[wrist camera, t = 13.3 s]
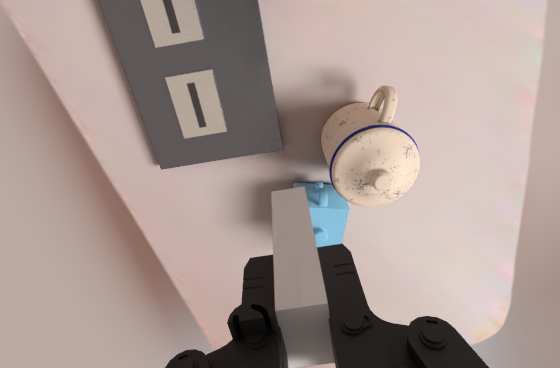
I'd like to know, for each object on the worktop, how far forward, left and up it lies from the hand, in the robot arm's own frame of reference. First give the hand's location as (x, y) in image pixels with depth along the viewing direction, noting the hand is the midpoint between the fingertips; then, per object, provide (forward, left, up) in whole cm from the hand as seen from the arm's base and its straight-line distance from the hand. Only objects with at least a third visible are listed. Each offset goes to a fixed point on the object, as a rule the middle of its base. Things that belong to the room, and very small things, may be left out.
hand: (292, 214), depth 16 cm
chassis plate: (-6, -8, -26) cm, 28 cm away
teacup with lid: (+7, +9, -27) cm, 29 cm away
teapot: (+18, +2, -27) cm, 32 cm away
